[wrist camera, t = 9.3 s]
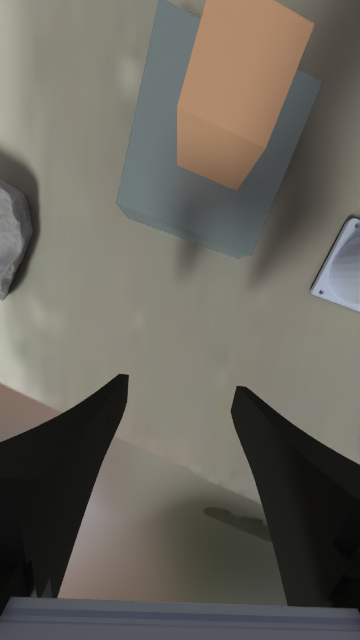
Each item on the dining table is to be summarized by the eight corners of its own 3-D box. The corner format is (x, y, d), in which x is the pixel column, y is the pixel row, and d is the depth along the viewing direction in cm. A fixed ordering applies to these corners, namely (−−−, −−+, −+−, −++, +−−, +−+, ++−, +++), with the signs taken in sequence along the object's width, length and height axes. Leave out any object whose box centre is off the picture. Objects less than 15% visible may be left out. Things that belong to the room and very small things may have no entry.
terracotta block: (264, 115, 12) (314, 23, 8) (236, 191, 13) (265, 148, 9) (200, 84, 12) (215, -33, 7) (177, 165, 13) (177, 106, 8)
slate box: (286, 130, 15) (323, 81, 12) (235, 259, 18) (251, 254, 14) (163, 72, 14) (159, -3, 10) (129, 219, 17) (116, 203, 13)
